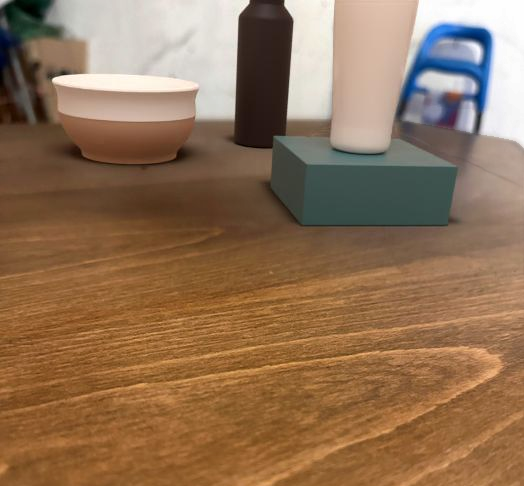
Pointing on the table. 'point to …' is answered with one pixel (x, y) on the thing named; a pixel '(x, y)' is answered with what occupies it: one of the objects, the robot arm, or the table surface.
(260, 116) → the bottle
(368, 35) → the drinking glass
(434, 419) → the table surface
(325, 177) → the stand
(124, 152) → the bowl
